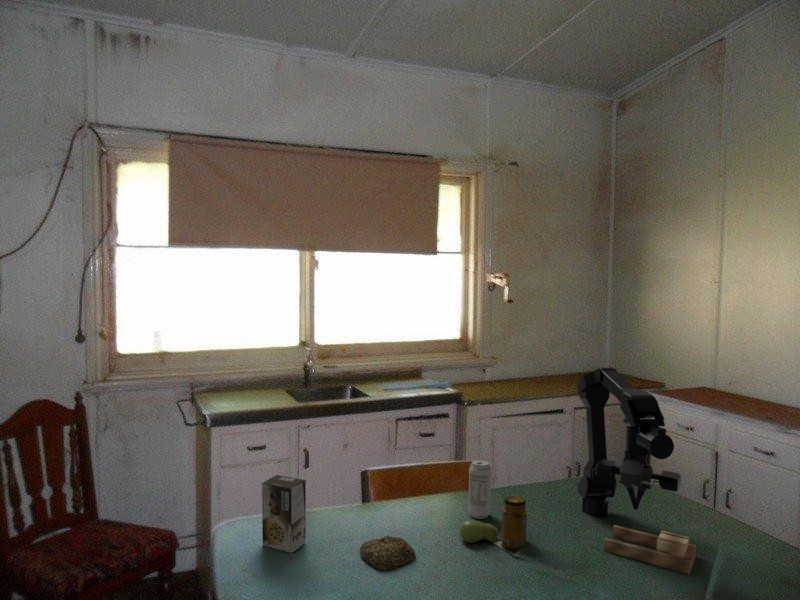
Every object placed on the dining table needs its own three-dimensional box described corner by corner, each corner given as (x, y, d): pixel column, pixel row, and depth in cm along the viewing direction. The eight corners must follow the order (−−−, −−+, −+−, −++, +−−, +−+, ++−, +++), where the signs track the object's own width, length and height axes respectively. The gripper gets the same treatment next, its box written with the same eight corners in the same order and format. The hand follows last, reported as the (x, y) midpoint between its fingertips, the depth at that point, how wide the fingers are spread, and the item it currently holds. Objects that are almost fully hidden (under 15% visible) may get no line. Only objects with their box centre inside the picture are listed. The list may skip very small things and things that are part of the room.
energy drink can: (493, 513, 167) (494, 461, 166) (484, 521, 162) (485, 467, 161) (473, 508, 171) (475, 457, 170) (464, 516, 165) (465, 463, 165)
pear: (458, 516, 153) (493, 518, 155) (455, 536, 153) (490, 538, 155) (466, 525, 147) (503, 527, 150) (463, 546, 147) (499, 548, 150)
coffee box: (306, 542, 148) (307, 479, 147) (291, 554, 143) (291, 488, 142) (276, 535, 152) (277, 473, 151) (261, 546, 146) (261, 482, 145)
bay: (601, 558, 143) (602, 539, 143) (615, 537, 154) (615, 520, 153) (688, 582, 132) (689, 562, 132) (696, 558, 143) (697, 540, 143)
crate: (656, 560, 139) (657, 538, 139) (660, 550, 144) (661, 529, 144) (684, 568, 136) (685, 545, 136) (688, 557, 141) (689, 536, 141)
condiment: (515, 537, 153) (516, 491, 153) (538, 551, 146) (539, 503, 145) (493, 543, 150) (494, 497, 149) (515, 558, 142) (516, 509, 142)
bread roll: (375, 575, 134) (375, 553, 134) (354, 551, 145) (354, 531, 145) (424, 562, 140) (424, 542, 140) (400, 540, 151) (400, 521, 151)
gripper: (589, 447, 142) (587, 511, 143) (674, 462, 131) (671, 531, 132) (602, 436, 151) (600, 496, 152) (682, 449, 141) (680, 514, 141)
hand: (636, 509), depth 144 cm, fingers closed
